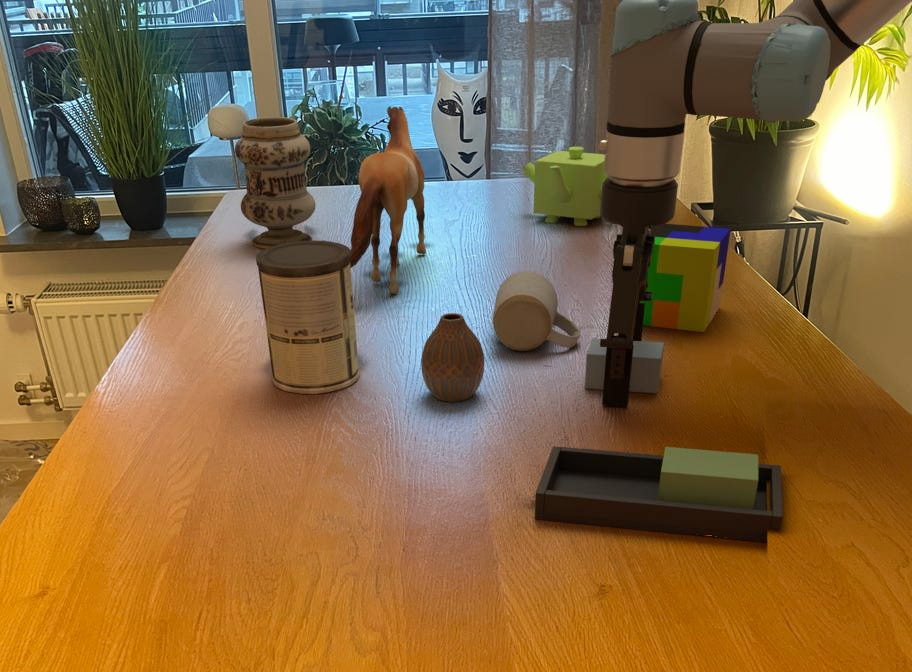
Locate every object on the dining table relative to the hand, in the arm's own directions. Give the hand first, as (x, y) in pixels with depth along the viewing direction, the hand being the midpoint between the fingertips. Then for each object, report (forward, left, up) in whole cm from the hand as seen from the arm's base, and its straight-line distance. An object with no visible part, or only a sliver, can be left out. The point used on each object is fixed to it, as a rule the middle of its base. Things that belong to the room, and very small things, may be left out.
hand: (621, 381), depth 113 cm
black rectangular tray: (-6, +28, 0) cm, 29 cm away
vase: (+18, +7, 0) cm, 19 cm away
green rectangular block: (-10, +28, 0) cm, 30 cm away
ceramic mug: (+12, -11, 0) cm, 16 cm away
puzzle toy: (-4, -24, 0) cm, 24 cm away
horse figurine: (+40, -35, 0) cm, 53 cm away
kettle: (+16, -71, 0) cm, 73 cm away
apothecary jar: (+61, -50, 0) cm, 79 cm away
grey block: (0, 0, 0) cm, 0 cm away
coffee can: (+35, +5, 0) cm, 35 cm away
